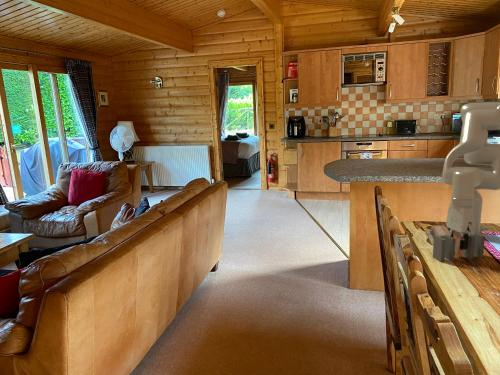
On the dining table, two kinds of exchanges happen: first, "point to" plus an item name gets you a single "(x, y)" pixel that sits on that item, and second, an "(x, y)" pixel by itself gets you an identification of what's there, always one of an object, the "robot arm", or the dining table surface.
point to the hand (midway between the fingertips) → (458, 246)
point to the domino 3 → (458, 243)
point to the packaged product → (437, 232)
